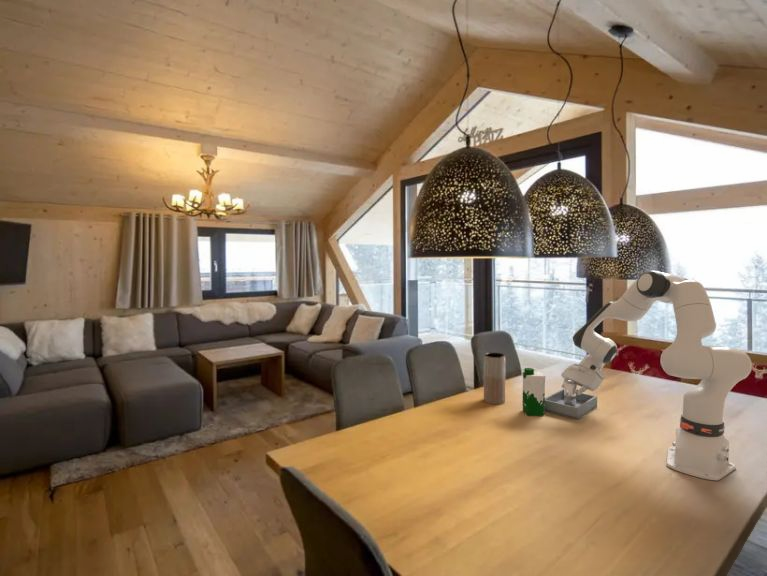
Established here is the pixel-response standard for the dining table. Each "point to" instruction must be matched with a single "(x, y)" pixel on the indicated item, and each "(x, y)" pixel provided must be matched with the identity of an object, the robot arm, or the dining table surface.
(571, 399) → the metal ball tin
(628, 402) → the dining table surface
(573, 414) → the bin
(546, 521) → the dining table surface
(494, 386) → the planter
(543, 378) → the milk carton
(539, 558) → the dining table surface
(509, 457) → the dining table surface
